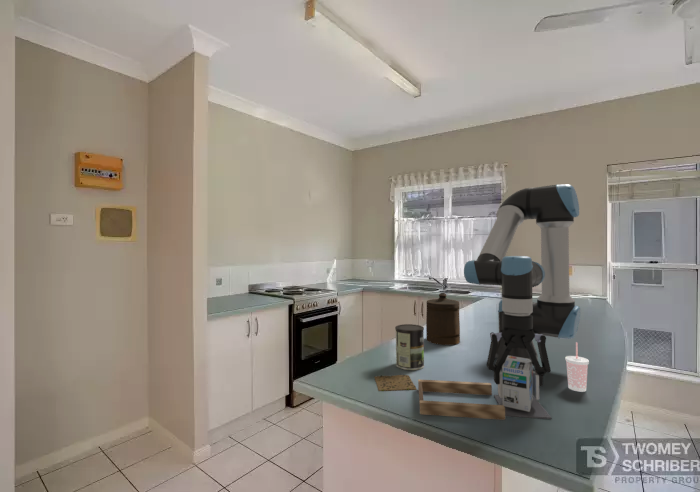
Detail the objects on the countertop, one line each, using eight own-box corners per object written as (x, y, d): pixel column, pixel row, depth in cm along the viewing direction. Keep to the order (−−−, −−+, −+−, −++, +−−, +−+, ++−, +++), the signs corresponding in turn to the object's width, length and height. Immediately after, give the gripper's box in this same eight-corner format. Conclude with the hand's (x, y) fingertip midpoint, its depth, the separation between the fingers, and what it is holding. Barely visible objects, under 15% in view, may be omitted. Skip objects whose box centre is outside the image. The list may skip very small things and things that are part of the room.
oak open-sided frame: (490, 393, 104) (490, 383, 104) (505, 419, 88) (505, 407, 88) (418, 389, 107) (418, 379, 107) (419, 414, 91) (419, 402, 91)
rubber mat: (534, 398, 100) (534, 397, 100) (551, 419, 88) (551, 417, 88) (493, 396, 102) (493, 394, 102) (505, 416, 90) (505, 414, 90)
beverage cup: (561, 384, 109) (560, 339, 109) (581, 384, 109) (580, 339, 109) (573, 392, 103) (572, 345, 103) (594, 392, 103) (593, 345, 103)
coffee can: (424, 361, 132) (423, 324, 132) (424, 371, 122) (423, 331, 122) (396, 360, 134) (396, 323, 134) (394, 369, 124) (394, 329, 124)
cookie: (373, 377, 118) (373, 374, 118) (408, 376, 119) (408, 373, 119) (377, 392, 106) (377, 389, 106) (417, 391, 107) (417, 388, 107)
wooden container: (458, 337, 166) (458, 291, 166) (461, 346, 151) (460, 295, 151) (426, 336, 169) (426, 290, 169) (426, 344, 155) (425, 294, 155)
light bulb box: (530, 412, 89) (530, 370, 89) (501, 406, 92) (501, 365, 92) (533, 396, 98) (533, 358, 98) (507, 391, 101) (507, 354, 101)
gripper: (553, 311, 97) (554, 392, 97) (473, 309, 100) (475, 388, 100) (565, 316, 89) (566, 405, 89) (479, 315, 93) (480, 400, 93)
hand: (518, 396), depth 95 cm, fingers closed on light bulb box, 8 cm apart
